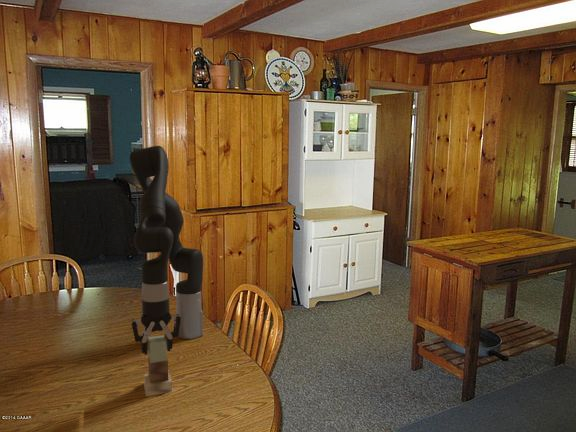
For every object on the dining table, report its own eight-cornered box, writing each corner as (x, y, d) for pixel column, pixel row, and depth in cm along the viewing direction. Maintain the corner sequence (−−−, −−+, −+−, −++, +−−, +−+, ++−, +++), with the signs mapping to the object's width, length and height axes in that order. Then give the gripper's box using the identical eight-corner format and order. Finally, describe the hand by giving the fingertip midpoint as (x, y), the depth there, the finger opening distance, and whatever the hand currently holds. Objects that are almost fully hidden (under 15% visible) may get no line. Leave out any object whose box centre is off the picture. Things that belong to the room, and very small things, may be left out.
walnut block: (166, 372, 145) (165, 353, 144) (168, 380, 141) (167, 360, 140) (148, 375, 144) (148, 356, 143) (150, 383, 139) (150, 363, 138)
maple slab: (168, 379, 147) (168, 370, 147) (172, 391, 141) (171, 381, 140) (144, 383, 145) (144, 374, 144) (147, 395, 138) (146, 385, 138)
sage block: (164, 354, 144) (163, 335, 143) (166, 360, 140) (166, 341, 139) (148, 356, 142) (148, 337, 141) (150, 363, 138) (149, 343, 137)
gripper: (179, 289, 144) (180, 343, 147) (128, 294, 139) (130, 350, 142) (183, 297, 137) (184, 353, 140) (130, 303, 132) (132, 361, 135)
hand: (157, 351), depth 141 cm, fingers open, 6 cm apart
